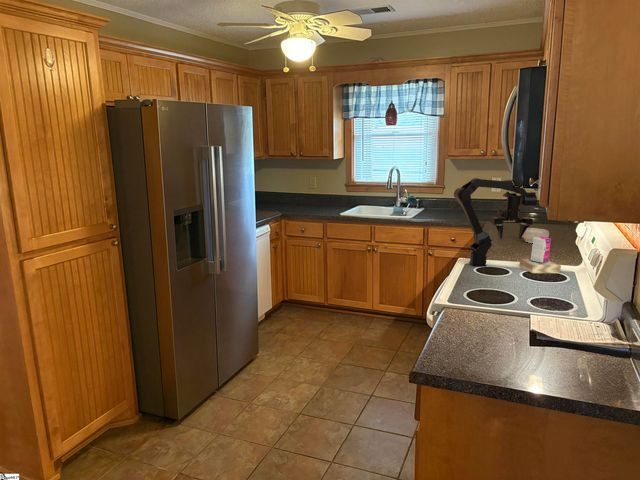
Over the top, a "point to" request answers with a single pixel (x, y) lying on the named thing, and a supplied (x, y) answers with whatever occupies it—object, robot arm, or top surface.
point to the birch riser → (540, 266)
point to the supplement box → (540, 249)
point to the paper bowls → (534, 234)
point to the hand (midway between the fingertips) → (510, 238)
